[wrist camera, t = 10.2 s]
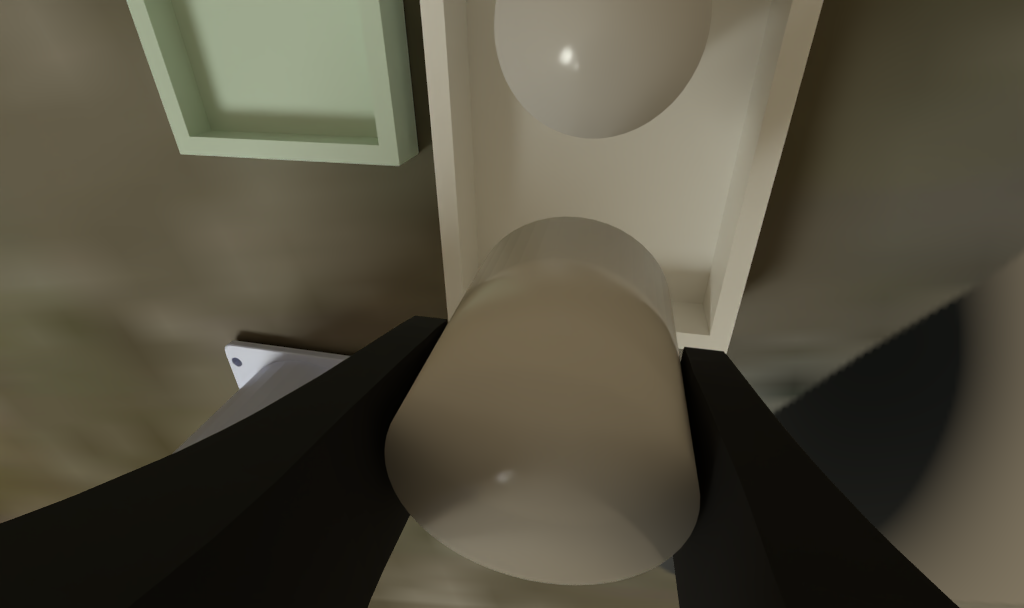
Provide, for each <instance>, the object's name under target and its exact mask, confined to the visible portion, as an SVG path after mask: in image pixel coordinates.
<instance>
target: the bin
mask: <svg viewBox="0 0 1024 608" xmlns="http://www.w3.org/2000/svg"><path fill="white" fill-rule="evenodd" d="M823 1H824V0H712V17H711V24H710V31H709V35H708V39H707V43H706V46H705V50H704V52H703V55H702V57H701V60H700V62H699V65H698V67H697V69H696V70H695V72H694V74H693V76H692V78H691V80H690V81H689V82H688V84H687V85H686V87H685V88H684V90H683V91H682V92H681V94H680V95H679V96H678V97H677V98H676V99H675V101H674V102H673V103H672V104H671V105H670V106H669V107H668V108H666V109H665V110H664V111H663V112H662V113H661V114H660V115H658V116H657V117H655V118H654V119H653V120H651V121H650V122H648V123H646V124H645V125H643V126H641V127H639V128H637V129H635V130H632V131H630V132H627V133H625V134H621V135H617V136H614V137H607V138H600V139H589V138H580V137H573V136H570V135H566V134H563V133H560V132H558V131H556V130H553V129H551V128H549V127H548V126H546V125H544V124H543V123H541V122H540V121H538V120H537V119H536V118H535V117H533V116H532V115H531V114H530V113H529V112H528V111H527V110H526V109H525V108H524V107H523V106H522V105H521V104H520V102H519V101H518V100H517V98H516V97H515V95H514V94H513V92H512V91H511V89H510V87H509V85H508V84H507V82H506V79H505V77H504V75H503V72H502V70H501V67H500V63H499V60H498V56H497V51H496V45H495V35H494V16H495V6H496V0H420V8H421V20H422V31H423V42H424V53H425V65H426V76H427V87H428V98H429V110H430V121H431V132H432V144H433V155H434V166H435V177H436V189H437V200H438V211H439V222H440V234H441V245H442V256H443V268H444V279H445V290H446V301H447V313H448V322H449V321H450V319H451V317H452V316H453V314H454V312H455V310H456V309H457V307H458V305H459V303H460V302H461V300H462V298H463V296H464V295H465V293H466V291H467V289H468V288H469V286H470V284H471V282H472V281H473V279H474V277H475V275H476V274H477V272H478V270H479V268H480V267H481V265H482V263H483V261H484V260H485V258H486V256H487V255H488V253H489V252H490V251H491V250H492V248H493V247H494V246H495V245H496V244H497V243H498V242H499V241H500V240H501V239H502V238H504V237H505V236H507V235H508V234H509V233H511V232H512V231H514V230H516V229H518V228H520V227H522V226H524V225H526V224H529V223H532V222H535V221H537V220H542V219H547V218H553V217H581V218H587V219H593V220H597V221H600V222H603V223H607V224H609V225H611V226H614V227H616V228H618V229H620V230H622V231H624V232H625V233H627V234H629V235H630V236H632V237H633V238H634V239H636V240H637V241H638V242H639V243H641V244H642V245H643V246H644V247H645V248H646V249H647V250H648V251H649V252H650V253H651V254H652V255H653V257H654V258H655V260H656V261H657V263H658V264H659V265H660V267H661V269H662V271H663V273H664V275H665V277H666V280H667V283H668V286H669V290H670V297H671V303H672V310H673V316H674V323H675V330H676V336H677V343H678V348H679V349H684V347H691V348H700V349H709V350H718V351H724V352H725V354H727V350H728V347H729V343H730V339H731V336H732V332H733V328H734V325H735V321H736V317H737V314H738V310H739V306H740V303H741V299H742V296H743V292H744V288H745V285H746V281H747V277H748V274H749V270H750V266H751V263H752V259H753V255H754V252H755V248H756V245H757V241H758V237H759V234H760V230H761V226H762V223H763V219H764V215H765V212H766V208H767V204H768V201H769V197H770V194H771V190H772V186H773V183H774V179H775V175H776V172H777V168H778V164H779V161H780V157H781V154H782V150H783V146H784V143H785V139H786V135H787V132H788V128H789V124H790V121H791V117H792V113H793V110H794V106H795V103H796V99H797V95H798V92H799V88H800V84H801V81H802V77H803V73H804V70H805V66H806V62H807V59H808V55H809V52H810V48H811V44H812V41H813V37H814V33H815V30H816V26H817V22H818V19H819V15H820V11H821V8H822V4H823Z"/></svg>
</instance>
